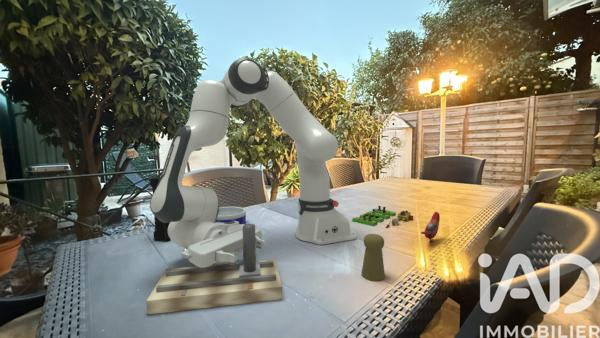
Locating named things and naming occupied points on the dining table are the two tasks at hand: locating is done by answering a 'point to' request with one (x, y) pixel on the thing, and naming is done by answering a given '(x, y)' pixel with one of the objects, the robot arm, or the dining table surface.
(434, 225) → the decorative bird figurine
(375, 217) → the toy garden set
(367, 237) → the olive green pawn
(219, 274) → the fader board
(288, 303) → the dining table surface
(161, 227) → the portable radio
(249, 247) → the fader knob
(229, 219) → the dog bowl
